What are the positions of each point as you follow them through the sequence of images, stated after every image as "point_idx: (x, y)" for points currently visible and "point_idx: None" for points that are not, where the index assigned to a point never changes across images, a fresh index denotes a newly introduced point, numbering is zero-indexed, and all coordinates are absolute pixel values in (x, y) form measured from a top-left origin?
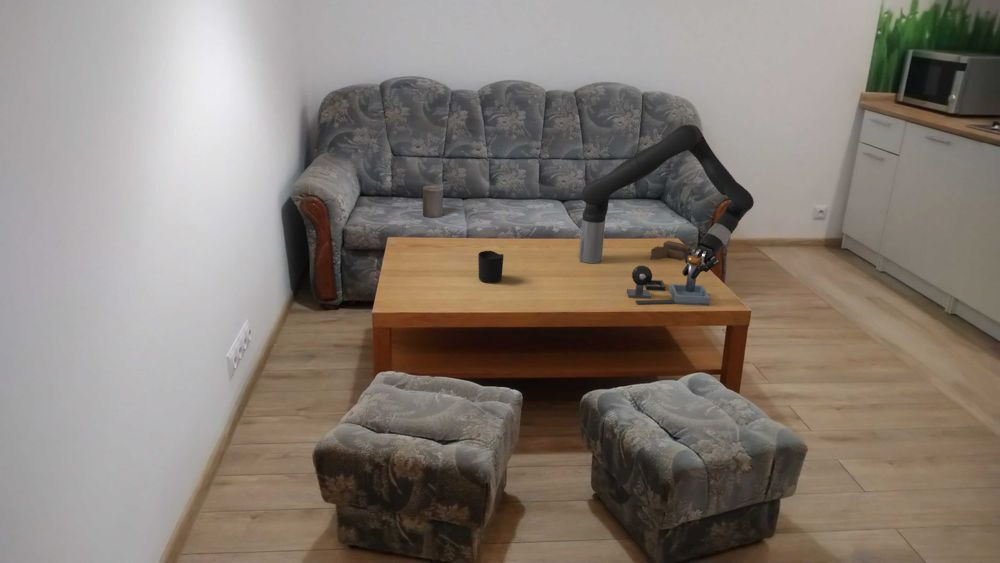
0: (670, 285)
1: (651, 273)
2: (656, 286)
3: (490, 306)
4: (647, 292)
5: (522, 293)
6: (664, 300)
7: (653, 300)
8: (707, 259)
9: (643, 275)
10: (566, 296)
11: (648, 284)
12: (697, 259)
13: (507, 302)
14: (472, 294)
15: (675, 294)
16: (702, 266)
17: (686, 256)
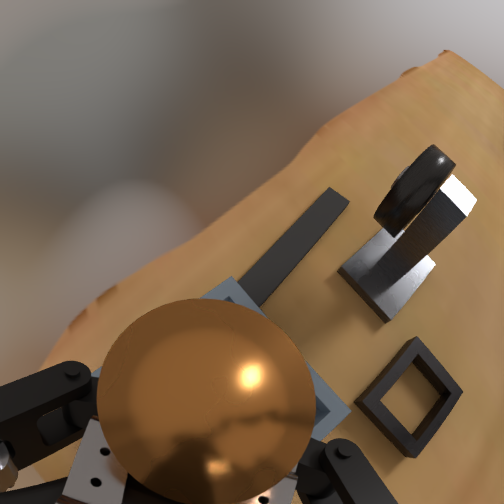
0: (343, 404)
1: (392, 188)
2: (392, 371)
3: (440, 76)
4: (376, 290)
5: (478, 125)
6: (278, 274)
7: (309, 242)
8: (46, 483)
9: (402, 173)
10: (450, 145)
11: (425, 361)
12: (119, 344)
13: (449, 91)
14: (482, 100)
15: (245, 293)
16: (84, 381)
17: (378, 491)
